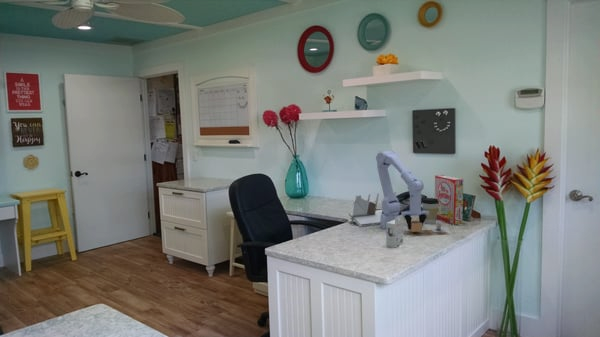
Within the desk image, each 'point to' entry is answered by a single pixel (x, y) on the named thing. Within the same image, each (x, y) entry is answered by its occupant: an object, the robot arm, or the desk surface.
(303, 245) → the desk surface
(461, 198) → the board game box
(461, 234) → the desk surface
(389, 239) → the ink box
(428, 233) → the hub board
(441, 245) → the desk surface
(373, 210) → the architectural model
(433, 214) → the coffee cup
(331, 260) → the desk surface
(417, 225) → the collar
